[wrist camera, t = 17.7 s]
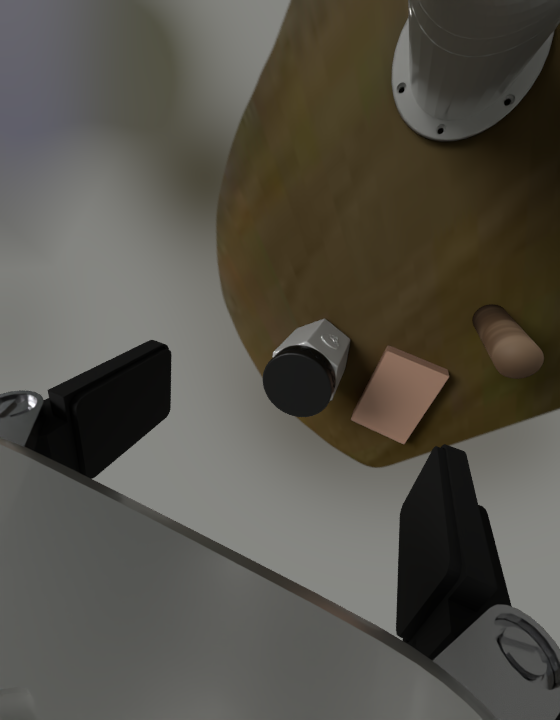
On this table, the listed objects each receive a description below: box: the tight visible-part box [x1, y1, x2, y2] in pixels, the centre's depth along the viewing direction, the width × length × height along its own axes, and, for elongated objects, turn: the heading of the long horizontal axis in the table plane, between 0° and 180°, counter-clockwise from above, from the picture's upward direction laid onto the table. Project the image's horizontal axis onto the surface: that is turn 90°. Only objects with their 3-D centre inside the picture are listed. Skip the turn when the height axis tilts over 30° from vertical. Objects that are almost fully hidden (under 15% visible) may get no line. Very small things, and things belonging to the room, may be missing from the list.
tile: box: [351, 345, 449, 444], centre depth 44 cm, size 2×8×12 cm
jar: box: [263, 319, 350, 417], centre depth 41 cm, size 9×8×12 cm
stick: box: [473, 305, 544, 379], centre depth 32 cm, size 3×3×12 cm
